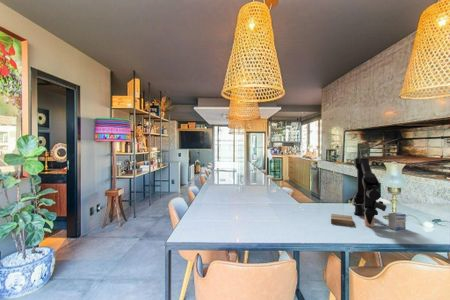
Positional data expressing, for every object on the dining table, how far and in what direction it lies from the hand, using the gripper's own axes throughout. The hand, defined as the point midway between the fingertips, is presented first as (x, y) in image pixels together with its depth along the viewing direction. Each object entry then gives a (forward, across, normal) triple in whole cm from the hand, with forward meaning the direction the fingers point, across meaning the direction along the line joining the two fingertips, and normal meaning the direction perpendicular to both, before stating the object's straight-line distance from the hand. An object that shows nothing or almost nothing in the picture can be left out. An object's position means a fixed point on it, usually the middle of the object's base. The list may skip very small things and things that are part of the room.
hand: (369, 222), depth 146 cm
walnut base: (+2, 0, +15) cm, 15 cm away
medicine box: (+2, +1, -14) cm, 14 cm away
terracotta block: (+2, 0, 0) cm, 2 cm away
